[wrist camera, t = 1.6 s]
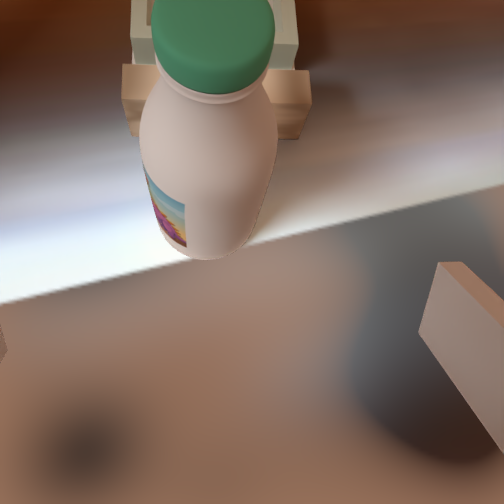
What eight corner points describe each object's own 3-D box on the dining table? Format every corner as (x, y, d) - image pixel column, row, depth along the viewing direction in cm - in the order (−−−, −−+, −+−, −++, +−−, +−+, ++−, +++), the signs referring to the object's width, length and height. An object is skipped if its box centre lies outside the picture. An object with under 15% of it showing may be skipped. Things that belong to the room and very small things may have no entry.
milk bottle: (256, 175, 36) (319, -53, 17) (252, 265, 34) (320, 118, 15) (162, 167, 35) (118, -82, 16) (152, 258, 33) (87, 93, 14)
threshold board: (131, 136, 36) (121, 99, 31) (132, 104, 37) (122, 63, 32) (297, 139, 38) (312, 104, 33) (295, 109, 38) (308, 70, 34)
